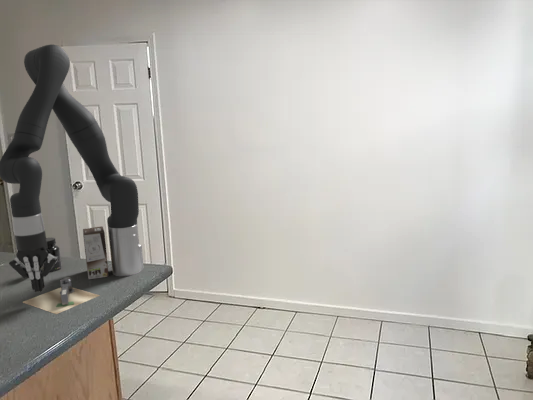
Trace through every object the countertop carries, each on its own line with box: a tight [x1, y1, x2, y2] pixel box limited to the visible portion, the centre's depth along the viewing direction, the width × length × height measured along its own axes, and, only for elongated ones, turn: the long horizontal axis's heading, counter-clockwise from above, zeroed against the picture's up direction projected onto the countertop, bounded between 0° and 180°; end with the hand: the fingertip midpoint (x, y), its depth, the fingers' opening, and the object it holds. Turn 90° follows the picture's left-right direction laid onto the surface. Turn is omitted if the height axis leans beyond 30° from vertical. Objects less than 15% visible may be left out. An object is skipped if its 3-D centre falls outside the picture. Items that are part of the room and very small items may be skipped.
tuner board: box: [22, 286, 101, 315], centre depth 135 cm, size 14×16×2 cm
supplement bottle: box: [43, 237, 63, 273], centre depth 160 cm, size 7×7×12 cm
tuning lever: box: [59, 276, 73, 305], centre depth 135 cm, size 12×3×4 cm, turn 20°
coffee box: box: [82, 226, 110, 280], centre depth 154 cm, size 9×6×16 cm
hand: (38, 290), depth 131 cm, fingers closed
